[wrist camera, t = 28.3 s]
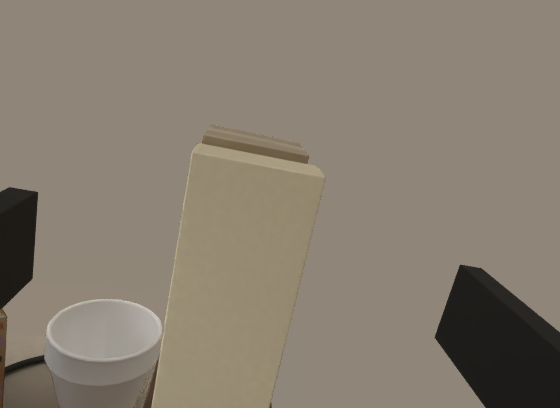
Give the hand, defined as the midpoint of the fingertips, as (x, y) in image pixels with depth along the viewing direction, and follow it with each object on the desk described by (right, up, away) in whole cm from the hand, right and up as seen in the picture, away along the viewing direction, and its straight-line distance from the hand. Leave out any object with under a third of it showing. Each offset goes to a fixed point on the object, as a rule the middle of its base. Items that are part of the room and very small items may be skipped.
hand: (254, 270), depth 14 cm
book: (-3, -9, +10) cm, 14 cm away
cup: (-21, -25, +39) cm, 51 cm away
